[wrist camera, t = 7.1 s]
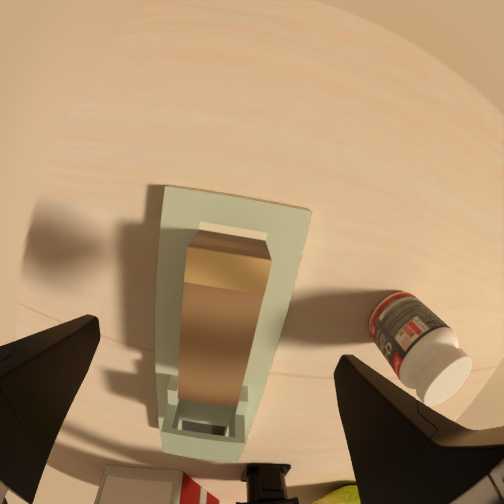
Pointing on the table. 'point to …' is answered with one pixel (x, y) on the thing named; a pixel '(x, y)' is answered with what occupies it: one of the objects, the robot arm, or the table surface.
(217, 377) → the brown rectangular block
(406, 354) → the pill bottle
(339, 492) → the lettuce
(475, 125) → the table surface
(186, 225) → the tunnel deck
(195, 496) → the red striped block
